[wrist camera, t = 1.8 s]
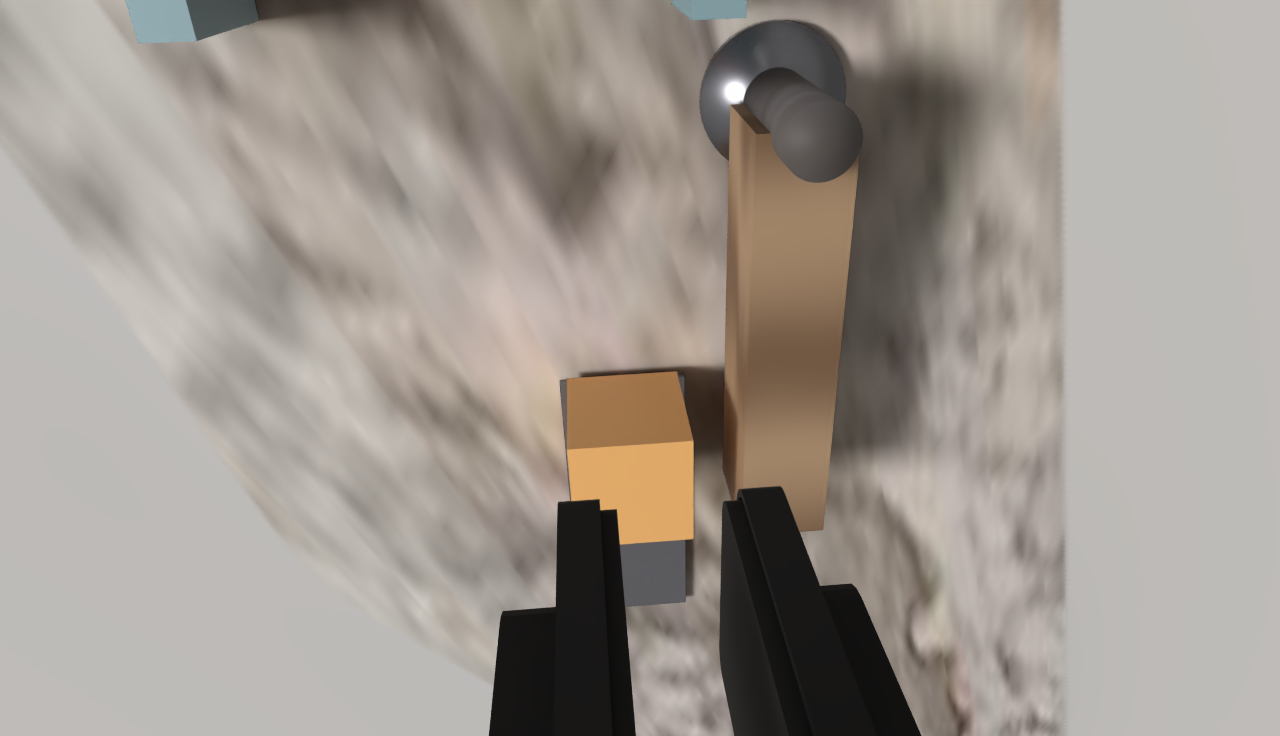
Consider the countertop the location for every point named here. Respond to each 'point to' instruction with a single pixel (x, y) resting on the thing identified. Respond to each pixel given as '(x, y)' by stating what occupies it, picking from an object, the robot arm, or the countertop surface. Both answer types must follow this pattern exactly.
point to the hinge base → (756, 54)
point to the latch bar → (786, 285)
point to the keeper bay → (215, 3)
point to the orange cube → (633, 453)
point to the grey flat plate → (646, 555)
